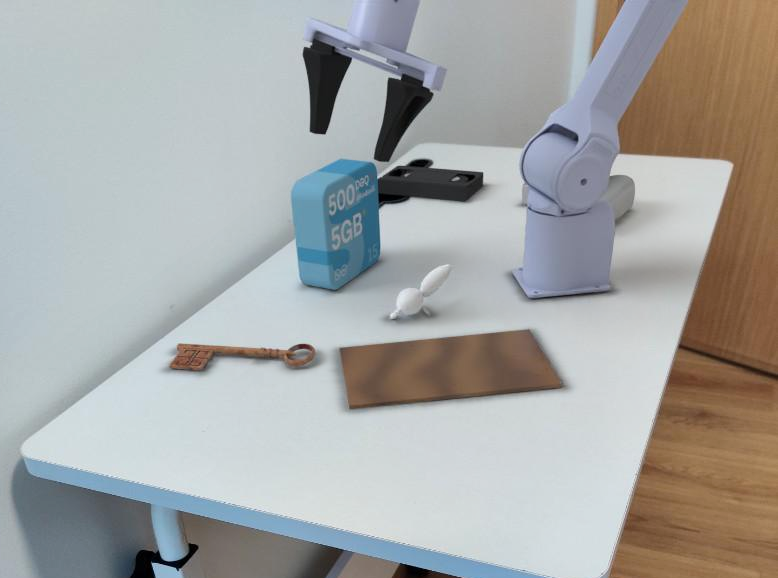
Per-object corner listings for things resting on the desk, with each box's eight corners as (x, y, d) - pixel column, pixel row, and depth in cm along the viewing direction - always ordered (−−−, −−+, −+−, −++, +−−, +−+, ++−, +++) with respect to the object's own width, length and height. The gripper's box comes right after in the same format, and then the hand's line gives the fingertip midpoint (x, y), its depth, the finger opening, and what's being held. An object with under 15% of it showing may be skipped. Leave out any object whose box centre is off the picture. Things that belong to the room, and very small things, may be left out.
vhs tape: (483, 185, 127) (484, 171, 126) (465, 201, 122) (465, 187, 121) (398, 178, 132) (398, 164, 131) (377, 193, 127) (376, 179, 126)
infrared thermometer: (534, 202, 122) (636, 209, 115) (498, 229, 115) (604, 237, 107) (534, 169, 120) (638, 173, 112) (497, 194, 112) (606, 200, 105)
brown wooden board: (529, 332, 88) (529, 329, 87) (561, 387, 78) (562, 383, 78) (339, 351, 87) (339, 347, 86) (349, 409, 77) (349, 405, 77)
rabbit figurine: (378, 312, 94) (431, 266, 94) (400, 339, 94) (453, 293, 95) (386, 303, 88) (443, 253, 88) (410, 332, 88) (466, 283, 89)
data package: (331, 294, 98) (322, 188, 91) (299, 288, 100) (288, 183, 92) (381, 259, 106) (377, 158, 98) (351, 254, 108) (344, 155, 100)
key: (164, 370, 86) (303, 380, 82) (162, 362, 85) (302, 372, 82) (187, 341, 90) (320, 349, 86) (185, 333, 89) (319, 341, 86)
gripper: (300, -46, 74) (266, 119, 81) (440, 4, 69) (391, 173, 77) (341, -30, 79) (306, 122, 86) (473, 17, 75) (425, 173, 82)
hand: (348, 146), depth 82 cm, fingers open, 7 cm apart
